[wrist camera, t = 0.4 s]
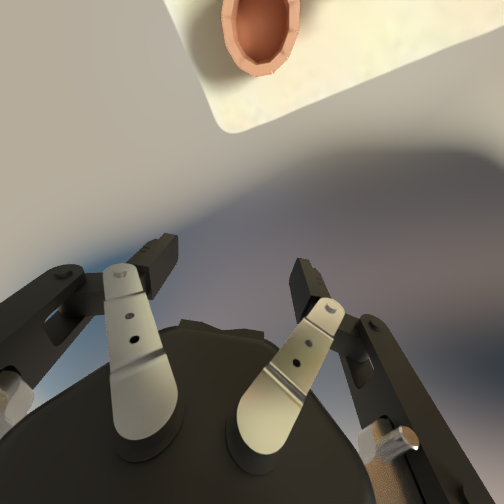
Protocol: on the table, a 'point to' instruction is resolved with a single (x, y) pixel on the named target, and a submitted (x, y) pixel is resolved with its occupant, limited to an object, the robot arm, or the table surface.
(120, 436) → the robot arm
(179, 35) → the table surface
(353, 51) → the table surface
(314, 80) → the table surface
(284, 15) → the bowl
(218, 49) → the table surface
